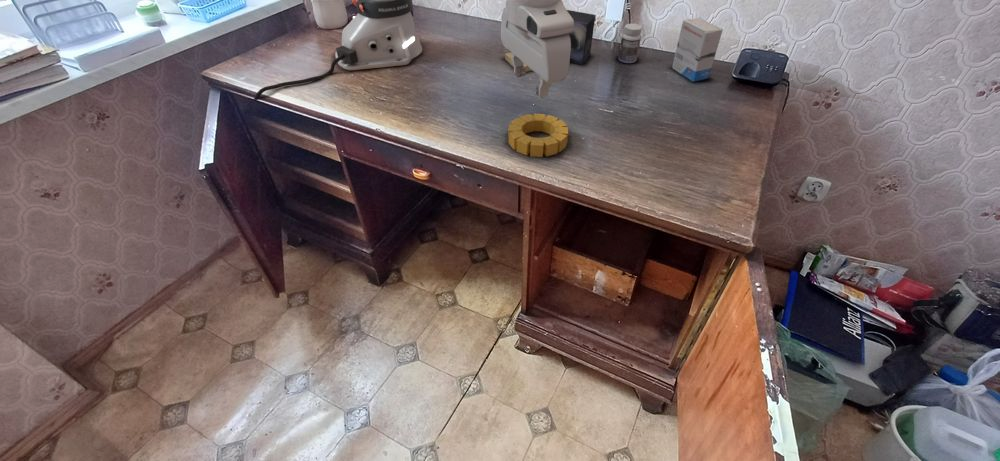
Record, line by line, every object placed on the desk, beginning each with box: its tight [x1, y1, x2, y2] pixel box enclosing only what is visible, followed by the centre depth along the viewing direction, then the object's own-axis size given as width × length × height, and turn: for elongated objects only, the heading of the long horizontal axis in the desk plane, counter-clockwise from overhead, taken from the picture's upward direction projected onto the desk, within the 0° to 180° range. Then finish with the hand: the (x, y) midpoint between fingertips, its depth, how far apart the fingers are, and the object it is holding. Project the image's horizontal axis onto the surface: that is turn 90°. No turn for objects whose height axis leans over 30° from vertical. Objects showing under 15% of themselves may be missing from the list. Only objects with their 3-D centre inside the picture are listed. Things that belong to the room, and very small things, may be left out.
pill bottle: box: [617, 23, 643, 64], centre depth 117 cm, size 5×5×8 cm
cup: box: [310, 0, 349, 30], centre depth 136 cm, size 10×10×10 cm
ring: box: [507, 113, 569, 158], centre depth 92 cm, size 12×12×3 cm
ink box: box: [671, 17, 724, 83], centre depth 110 cm, size 9×5×12 cm, turn 21°
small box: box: [566, 9, 597, 65], centre depth 118 cm, size 11×6×10 cm, turn 62°
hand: (530, 85), depth 89 cm, fingers open, 8 cm apart
